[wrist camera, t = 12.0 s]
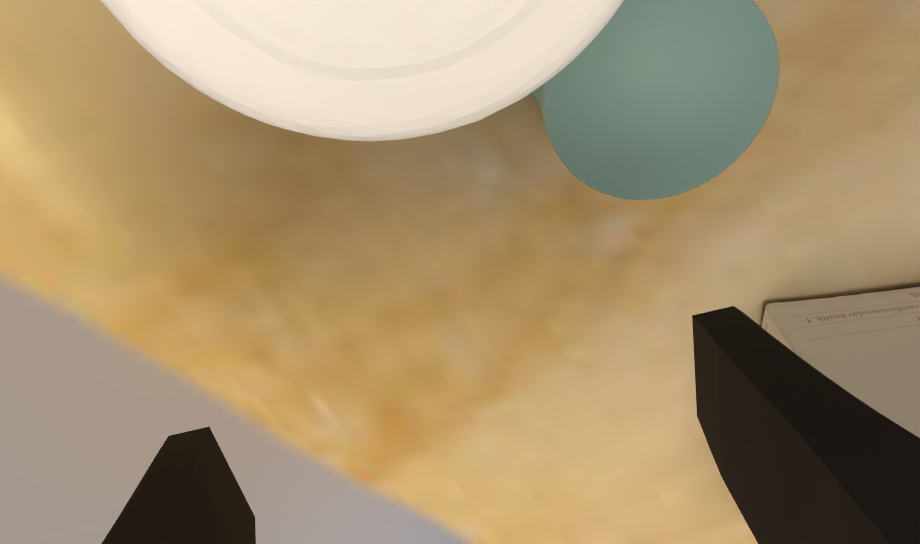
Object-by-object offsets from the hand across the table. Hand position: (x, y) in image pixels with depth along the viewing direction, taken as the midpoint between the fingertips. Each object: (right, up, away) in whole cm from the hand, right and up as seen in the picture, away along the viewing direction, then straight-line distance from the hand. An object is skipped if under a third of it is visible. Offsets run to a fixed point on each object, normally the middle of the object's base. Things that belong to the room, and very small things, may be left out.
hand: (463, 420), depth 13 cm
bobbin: (+3, +8, +8) cm, 12 cm away
